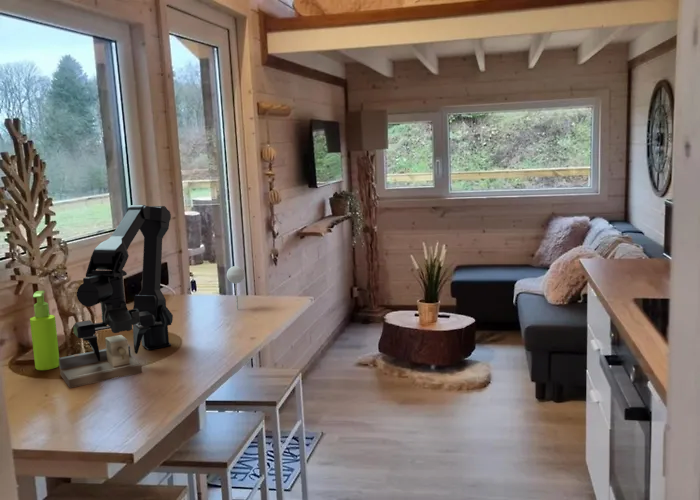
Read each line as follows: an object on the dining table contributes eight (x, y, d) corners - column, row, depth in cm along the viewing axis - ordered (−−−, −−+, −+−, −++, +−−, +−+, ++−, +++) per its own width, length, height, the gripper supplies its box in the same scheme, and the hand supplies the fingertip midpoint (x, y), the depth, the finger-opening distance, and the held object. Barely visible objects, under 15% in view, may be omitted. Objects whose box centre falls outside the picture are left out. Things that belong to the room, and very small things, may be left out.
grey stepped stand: (129, 361, 175) (128, 344, 175) (142, 372, 166) (140, 354, 165) (60, 375, 166) (58, 357, 165) (69, 388, 157) (67, 369, 156)
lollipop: (226, 308, 228) (224, 265, 225) (243, 306, 230) (241, 263, 228) (231, 312, 222) (228, 268, 220) (248, 310, 224) (246, 266, 222)
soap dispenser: (32, 372, 169) (23, 295, 165) (37, 364, 175) (29, 289, 172) (57, 369, 170) (49, 293, 167) (61, 361, 177) (53, 287, 173)
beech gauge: (123, 357, 172) (121, 334, 171) (133, 366, 165) (131, 342, 164) (107, 360, 170) (105, 337, 169) (116, 369, 163) (114, 346, 162)
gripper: (80, 309, 154) (86, 373, 157) (159, 296, 164) (164, 357, 167) (70, 300, 164) (76, 361, 166) (146, 289, 174) (150, 347, 176)
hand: (117, 357), depth 169 cm, fingers open, 9 cm apart
